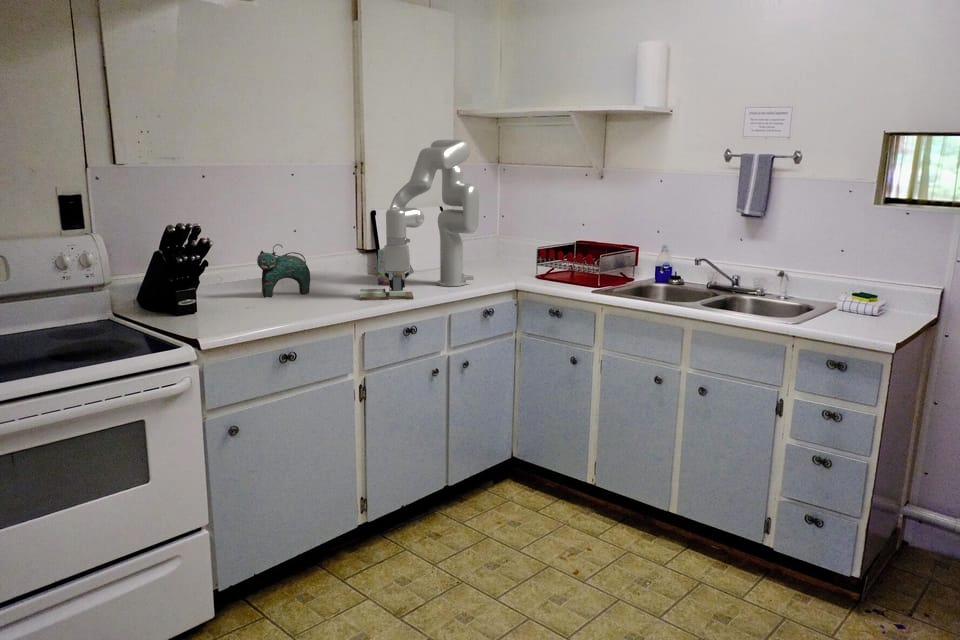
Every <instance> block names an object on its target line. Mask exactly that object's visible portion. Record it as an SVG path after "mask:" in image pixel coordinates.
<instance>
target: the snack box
mask: <svg viewBox="0 0 960 640" xmlns="http://www.w3.org/2000/svg"><path fill="white" fill-rule="evenodd" d="M383 254H384V247H382V248H380V249H378V250H377V285H378V286H389V279H388V278H387V277H386V276H385V275H383V274H381V273H380V269H381V268H382V266H383ZM385 272H386V271H385ZM387 273H388V274H389V272H387ZM393 276H401V277H402V274H401V272H392V278H393Z"/></svg>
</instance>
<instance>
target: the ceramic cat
mask: <svg viewBox="0 0 960 640" xmlns="http://www.w3.org/2000/svg"><path fill="white" fill-rule="evenodd" d="M276 246H279V247H281V248H282V249H283V245H282V244H279V243H277V244H274V246H273V247H272V252H271V253H270V252H265V251H263V250H260V253H259V254H258V256H257V257H256V258H257V259H256V261H257V265H258V266H257V267H259V268H260V269H261V270H262V273H261V293H262V297H263V296H264V297H263V298H265V297H270V298H273V297H272V296H273V294H274V289H275V286H276V285H277V283H278V282H279V281H281V280H283V279H291V280H294V281H296V283H298V288H299V294H300V293H301V294H300V295H308V294H307V293H309V294H310V287H311V271H310V269H309V267H308V265H307V261H306V258H305V256H304V255H303V254H302V253H300V252H293V251H291V252H288V253H285V254H282V255H278V254H276V252H275V250H274V248H275V247H276ZM291 254H294V255H291ZM295 254H296V255H295ZM297 255H299V256H301V257H302V258H303V259H302V258H301V257H298V256H297Z"/></svg>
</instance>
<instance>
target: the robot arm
mask: <svg viewBox="0 0 960 640" xmlns="http://www.w3.org/2000/svg"><path fill="white" fill-rule="evenodd" d="M470 154H471V147H470V144H469V142H467V141H466V140H465V139H464V140H463V139H437V140H434V141H432V143H431V144H430V146H429V147H425V148H422V149H421V150H420V152H419V154H418V156H417V160H416V161H415V164H414V168H413V171H412V173H411V176H410V179H409V181H408V182H407V183H405V184H404V185H403V186H402V187H401V188H400V189H399V191H397V192H396V194H395V195H394V197H393V198H392V201H391V203H390V207H389V208H388V209H387V210H386V212H385V225H386V226H385V232H386V238H385V240H386V244H385V245H384V247H383V248H384V254H383V266H382V268H381V269H380V273H381V274H383V275H385V276H386V277H387V278H388V279H389V285H388V286H389V288H391V290H393V278H392V272H401V274H402V277H401V290H403V288H405V287H406V286H405V284H406V283H405V282H406V281H405V280H406V279H407V278H408V277H409V276H410V275H412V274H414V273H415V270H414V269H413V267H412V265H411V257H410V256H411V255H410V249H409V245H408V244H409V243H411V239H410V238H407V228H413V229H414V228H419V227H420V226H422V225H423V223H424V221H425V214H424V213H423V211H422V210H421V209H418V208H416V207H408V206H407V204H408V203H409V202H410V201H412V200H413V199H414V198H415V197H418V196H420V195H423V194H425V193H426V192H428V191H430V189H431V188H432V184H433V182H434V179H435V176H436V173H437V170H441V200H442V202H443V204H444V205H445V206H450V207H462V209H453V208H451V209H449V208H448V209H444V210H442V211H441V212H439V214H438V216H437V225H438V227H437V228H438V230H439V232H438V233H439V244H440V246H439V248H440V249H439V250H440V251H439V253H440V254H439V256H440V257H439V261H440V262H439V263H440V264H439V266H440V267H439V274H440V276H439V278H440V279H439V280H437V281H436V285H438V286H442V287H462V285H463V286H466V285H467V281H473V280H474V275H469V274H468V275H466V274H464V273H463V270H464V269H463V267H464V266H463V263H464V262H463V261H464V260H463V258H464V257H463V255H464V254H463V251H464V250H463V247H464V246H463V245H464V244H463V243H464V242H463V239H462V237H461V235H460V234H474V233H475V232H476V231H477V229H478V226H479V219H480V218H479V217H480V215H479V212H480V193H479V190H478V188H477V187H476V186H475V185H474V184H472V183H468V182H467V183H465V182H464V181H463V179H464V178H463V176H464V175H463V173H464V172H463V168H462V165H461V164H462V163H464V162H466V161H467V160H468V159H469V157H470ZM385 271H386V272H385ZM387 272H389V274H388V273H387Z"/></svg>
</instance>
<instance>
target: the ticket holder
mask: <svg viewBox="0 0 960 640" xmlns="http://www.w3.org/2000/svg"><path fill="white" fill-rule="evenodd" d="M389 299H406V300H414V294H413V291H405V296H390V295H389V291H387V290H386V288H361V289H360V290H359V300H360V301H390V300H389Z"/></svg>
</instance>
